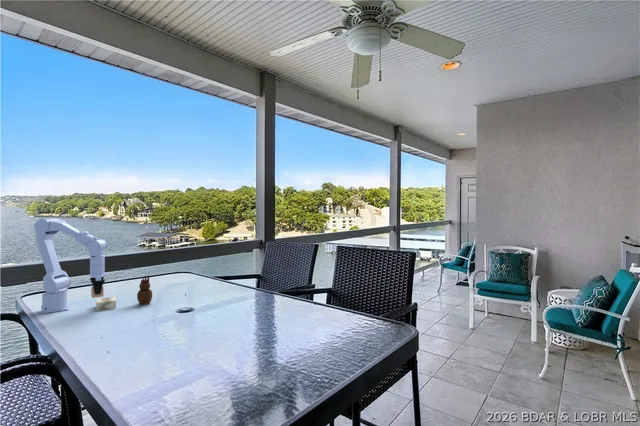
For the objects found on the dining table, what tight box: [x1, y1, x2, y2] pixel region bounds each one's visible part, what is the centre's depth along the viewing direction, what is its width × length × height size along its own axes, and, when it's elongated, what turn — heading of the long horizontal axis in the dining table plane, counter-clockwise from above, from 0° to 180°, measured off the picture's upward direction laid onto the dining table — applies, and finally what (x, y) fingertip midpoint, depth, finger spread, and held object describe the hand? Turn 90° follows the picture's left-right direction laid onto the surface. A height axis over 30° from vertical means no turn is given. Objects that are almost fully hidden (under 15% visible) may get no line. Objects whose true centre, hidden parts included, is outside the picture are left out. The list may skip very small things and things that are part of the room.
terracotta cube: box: [90, 285, 104, 299], centre depth 155 cm, size 4×4×4 cm
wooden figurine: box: [136, 274, 153, 306], centre depth 167 cm, size 7×6×15 cm
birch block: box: [95, 296, 118, 311], centre depth 161 cm, size 8×8×4 cm
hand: (97, 293), depth 155 cm, fingers closed on terracotta cube, 4 cm apart
